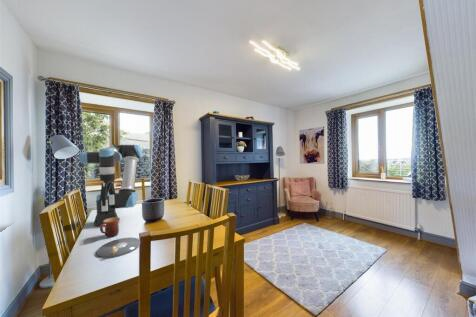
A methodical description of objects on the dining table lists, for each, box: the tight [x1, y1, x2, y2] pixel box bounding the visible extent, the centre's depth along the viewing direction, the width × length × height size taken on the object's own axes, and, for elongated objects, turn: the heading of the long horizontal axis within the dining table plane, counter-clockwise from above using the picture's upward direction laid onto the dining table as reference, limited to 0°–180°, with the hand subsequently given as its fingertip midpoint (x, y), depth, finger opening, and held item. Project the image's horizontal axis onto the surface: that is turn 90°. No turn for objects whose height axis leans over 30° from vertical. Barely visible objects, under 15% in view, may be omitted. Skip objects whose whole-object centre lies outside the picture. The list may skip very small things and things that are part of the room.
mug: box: [99, 216, 121, 238], centre depth 116 cm, size 12×9×10 cm
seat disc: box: [96, 237, 140, 259], centre depth 102 cm, size 20×20×5 cm
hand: (108, 207), depth 115 cm, fingers open, 13 cm apart
